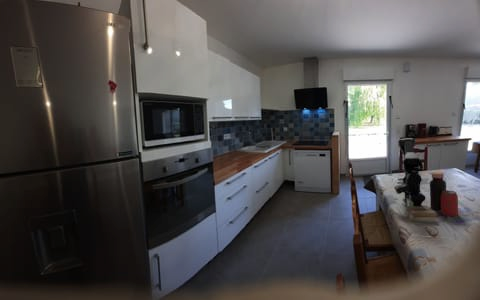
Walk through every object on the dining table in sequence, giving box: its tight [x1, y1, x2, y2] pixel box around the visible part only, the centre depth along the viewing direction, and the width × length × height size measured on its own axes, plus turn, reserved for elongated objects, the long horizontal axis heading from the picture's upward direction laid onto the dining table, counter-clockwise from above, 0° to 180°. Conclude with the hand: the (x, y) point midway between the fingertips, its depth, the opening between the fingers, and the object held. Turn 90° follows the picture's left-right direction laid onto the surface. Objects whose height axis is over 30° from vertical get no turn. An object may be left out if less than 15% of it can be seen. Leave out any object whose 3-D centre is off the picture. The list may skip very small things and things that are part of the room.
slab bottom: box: [406, 211, 437, 222], centre depth 120 cm, size 10×10×2 cm
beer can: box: [440, 189, 459, 217], centre depth 121 cm, size 7×7×12 cm
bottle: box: [429, 171, 447, 212], centre depth 129 cm, size 7×7×20 cm
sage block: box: [406, 199, 414, 206], centre depth 131 cm, size 5×5×6 cm
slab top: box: [405, 205, 438, 218], centre depth 120 cm, size 10×10×2 cm
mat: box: [404, 212, 440, 225], centre depth 121 cm, size 14×11×1 cm
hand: (413, 207), depth 131 cm, fingers open, 9 cm apart
